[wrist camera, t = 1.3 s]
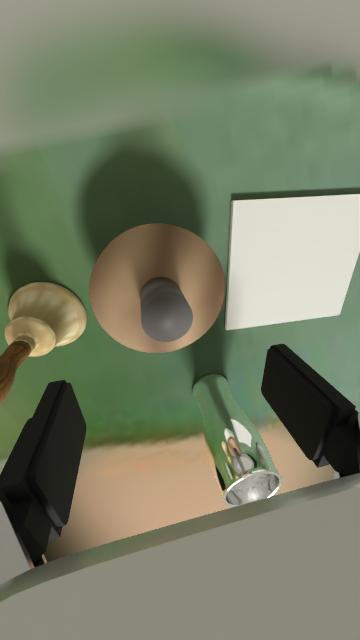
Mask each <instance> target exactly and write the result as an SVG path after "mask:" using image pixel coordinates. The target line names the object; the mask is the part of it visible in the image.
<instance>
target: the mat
mask: <svg viewBox="0 0 360 640" xmlns="http://www.w3.org/2000/svg"><path fill="white" fill-rule="evenodd" d="M359 252H360V194H350V195H332V196H313V197H294V198H275V199H256V200H237V201H231V216H230V236H229V255H228V275H227V294H226V314H225V329H226V330H233V329H240V328H247V327H255V326H262V325H269V324H276V323H284V322H291V321H298V320H305V319H313V318H320V317H327V316H335V315H340V312H341V308H342V305H343V302H344V299H345V296H346V293H347V289H348V286H349V283H350V280H351V277H352V274H353V271H354V267H355V264H356V261H357V258H358V255H359Z"/></svg>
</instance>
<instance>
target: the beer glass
mask: <svg viewBox="0 0 360 640" xmlns="http://www.w3.org/2000/svg"><path fill="white" fill-rule="evenodd" d="M192 393H193V396H194V398H195V400H196V402H197V404H198V405H199V408H200V410H201V414H202V420H203V429H204V437H205V443H206V449H207V453H208V457H209V461H210V464H211V467H212V470H213V473H214V476H215V479H216V481H217V484H218V487H219V489H220V492H221V494H222V497H223V501H224V503H225V504H226V505H227V506H229V507H236V506H240V505H243V504H247V503H250V502H254V501H257V500H261V499H264V498H268V497H271V496H272V495H274V494H275V493H276V492H277V491H278V489H279V488H280V486H281V484H282V478H281V476H280V474H279V472H278V470H277V468H276V466H275V463H274V461H273V459H272V457H271V455H270V453H269V450H268V449H267V447H266V445H265V443H264V441H263V439H262V437H261V436H260V434H259V432H258V430H257V429H256V427H255V426H254V425H253V423H252V422H251V420H250V419H249V418H248V417H247V415H246V414H245V413H244V412H243V410H242V409H241V408H240V407H239V405H238V404H237V403H236V402H235V400H234V398H233V397H232V395H231V392H230V388H229V384H228V382H227V380H226V378H225V377H223V376H222V375H219V374H209V375H206V376H203V377H202V378H200V379H199V380H198V381H197V382H196V383H195V384H194V386H193V390H192Z"/></svg>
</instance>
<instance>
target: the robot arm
mask: <svg viewBox="0 0 360 640" xmlns="http://www.w3.org/2000/svg"><path fill="white" fill-rule="evenodd" d="M261 392H262V394H263V396H264V398H265V399H266V401H267V402H268V403H269V405H270V406H271V408H272V409H273V410H274V412H275V413H276V415H277V416H278V417H279V419H280V420H281V422H282V423H283V424H284V426H285V427H286V429H287V430H288V432H289V433H290V434H291V436H292V437H293V438H294V440H295V441H296V443H297V444H298V446H299V447H300V448H301V450H302V451H303V453H304V454H305V455H306V457H307V458H308V459H309V460H312V461H313V462H314V463H315V465H316V466H317V467H322V466H326V465H329V464H330V465H331V466H332V467H333V469H334V474H335V479H334V480H330V481H326V482H322V483H319V484H315V485H311V486H308V487H305V488H301V489H297V490H294V491H290V492H286V493H283V494H279V495H275V496H272V497H268V498H264V499H261V500H257V501H254V502H250V503H247V504H243V505H240V506H236V507H233V508H229V509H225V510H222V511H218V512H215V513H212V514H208V515H204V516H201V517H197V518H194V519H190V520H187V521H183V522H180V523H176V524H173V525H169V526H166V527H163V528H159V529H155V530H152V531H148V532H145V533H142V534H138V535H135V536H131V537H128V538H124V539H121V540H117V541H114V542H111V543H108V544H104V545H101V546H98V547H94V548H91V549H88V550H85V551H81V552H78V553H75V554H72V555H69V556H65V557H62V558H59V559H57V560H54V561H51V562H49V563H47V561H46V559H45V557H44V555H43V553H44V552H45V551H46V547H47V544H48V540H52V539H55V538H59V537H60V535H61V530H62V526H64V525H66V524H67V522H68V518H69V513H70V509H71V504H72V499H73V494H74V489H75V484H76V479H77V474H78V469H79V464H80V459H81V454H82V449H83V444H84V439H85V434H86V423H85V420H84V418H83V415H82V412H81V410H80V407H79V404H78V402H77V399H76V396H75V394H74V391H73V388H72V386H71V383H66V381H65V380H61V381H55V382H50V383H49V384H48V385H47V388H46V390H45V392H44V394H43V396H42V398H41V400H40V402H39V404H38V407H37V409H36V411H35V413H34V415H33V417H32V418H30V419H29V420H28V421H27V422H26V424H25V426H24V428H23V430H22V432H21V434H20V436H19V438H18V440H17V442H16V444H15V446H14V448H13V450H12V452H11V454H10V456H9V458H8V460H7V462H6V464H5V466H4V468H3V471H2V472H1V475H0V640H360V412H359V413H358V412H357V411H356V410H355V407H356V406H355V405H353V404H352V403H351V402H350V401H349V400H348V399H347V398H345V397H344V396H343V395H342V394H341V393H340V392H339V391H337V390H336V389H335V388H334V387H333V386H332V385H331V384H329V383H328V382H327V381H326V380H325V379H324V378H323V377H321V376H320V375H319V374H318V373H317V372H316V371H315V370H313V369H312V368H311V367H310V366H309V365H308V364H307V363H305V362H304V361H303V360H302V359H301V358H300V357H299V356H297V355H296V354H295V353H294V352H293V351H292V350H291V349H289V348H288V347H287V346H286V345H285V344H278V345H272V346H271V347H270V349H268V351H267V357H266V363H265V369H264V375H263V381H262V387H261Z"/></svg>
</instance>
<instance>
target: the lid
mask: <svg viewBox="0 0 360 640" xmlns="http://www.w3.org/2000/svg"><path fill="white" fill-rule="evenodd" d="M89 288H90V301H91V305H92V308H93V312H94V314H95V316H96V318H97V320H98V322H99V323H100V325H101V326H102V327H103V329H104V330H105V331H106V332H107V333H108V334H109V335H110V336H111V337H112V338H113V339H115V340H116V341H118V342H119V343H121V344H123V345H125V346H127V347H129V348H132V349H134V350H138V351H142V352H149V353H162V352H169V351H174V350H177V349H181V348H183V347H185V346H188V345H189V344H191V343H193V342H195V341H196V340H197V339H199V338H200V337H201V336H202V335H204V334H205V333H206V332H207V331H208V330H209V328H210V327H211V326H212V325H213V323H214V322H215V320H216V319H217V317H218V315H219V313H220V310H221V308H222V305H223V301H224V295H225V279H224V273H223V270H222V266H221V264H220V262H219V259H218V258H217V256H216V254H215V253H214V251H213V250H212V249H211V247H210V246H209V245H208V244H207V243H206V242H205V241H204V240H203V239H201V238H200V237H199V236H197V235H196V234H194V233H192V232H190V231H188V230H186V229H184V228H181V227H178V226H175V225H170V224H164V223H152V224H144V225H140V226H137V227H134V228H131V229H129V230H127V231H125V232H123V233H122V234H120V235H118V236H117V237H116V238H115V239H114V240H112V241H111V242H110V243H109V244H108V245H107V247H106V248H105V249H104V250H103V251H102V253H101V254H100V256H99V257H98V259H97V261H96V263H95V265H94V267H93V271H92V274H91V278H90V286H89Z"/></svg>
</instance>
